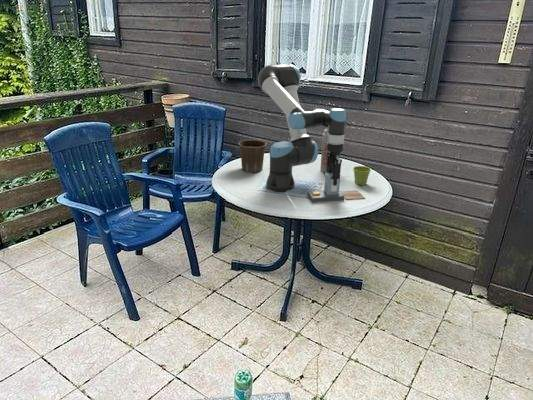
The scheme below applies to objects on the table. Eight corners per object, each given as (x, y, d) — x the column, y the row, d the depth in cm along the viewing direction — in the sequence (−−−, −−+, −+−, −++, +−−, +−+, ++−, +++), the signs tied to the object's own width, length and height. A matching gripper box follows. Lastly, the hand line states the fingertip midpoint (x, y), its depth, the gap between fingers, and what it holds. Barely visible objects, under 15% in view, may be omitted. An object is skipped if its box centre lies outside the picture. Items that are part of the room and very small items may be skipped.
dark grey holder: (306, 196, 197) (307, 189, 196) (337, 194, 200) (337, 187, 199) (312, 203, 189) (312, 196, 188) (343, 201, 192) (344, 194, 191)
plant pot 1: (269, 166, 240) (269, 140, 234) (262, 175, 226) (262, 148, 219) (243, 164, 244) (243, 138, 237) (235, 172, 229) (234, 145, 223)
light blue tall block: (323, 195, 196) (325, 173, 192) (335, 195, 198) (337, 172, 193) (326, 199, 192) (328, 176, 188) (338, 198, 193) (340, 175, 189)
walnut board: (338, 193, 201) (338, 191, 201) (356, 192, 203) (357, 190, 203) (345, 201, 192) (346, 199, 192) (364, 200, 194) (365, 197, 194)
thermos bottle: (327, 174, 228) (330, 126, 217) (317, 170, 234) (320, 123, 223) (336, 171, 233) (340, 124, 222) (327, 168, 239) (330, 122, 227)
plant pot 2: (361, 188, 209) (362, 172, 205) (348, 183, 216) (349, 167, 212) (372, 184, 214) (374, 169, 210) (359, 179, 221) (361, 164, 217)
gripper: (350, 147, 177) (345, 195, 186) (336, 137, 193) (332, 182, 202) (334, 148, 175) (330, 196, 185) (321, 138, 191) (318, 183, 200)
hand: (331, 188), depth 193 cm, fingers closed on light blue tall block, 4 cm apart
